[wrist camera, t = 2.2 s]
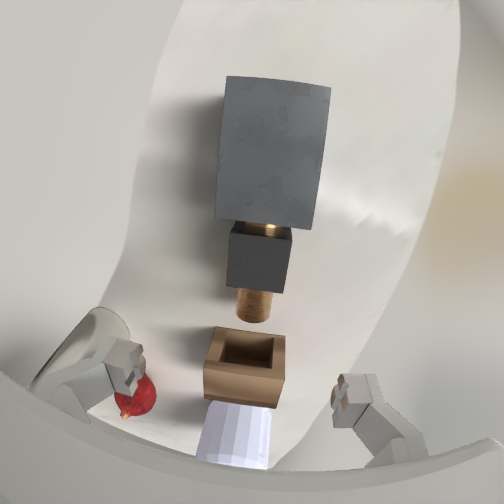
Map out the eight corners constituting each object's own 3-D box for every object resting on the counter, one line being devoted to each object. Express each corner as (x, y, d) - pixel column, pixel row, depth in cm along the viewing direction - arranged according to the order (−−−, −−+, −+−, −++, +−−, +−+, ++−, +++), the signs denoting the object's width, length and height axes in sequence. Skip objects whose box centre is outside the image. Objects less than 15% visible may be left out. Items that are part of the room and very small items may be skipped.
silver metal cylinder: (110, 350, 33) (26, 492, 10) (81, 314, 31) (-24, 452, 8) (139, 341, 31) (49, 511, 8) (108, 300, 29) (-14, 466, 6)
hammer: (251, 107, 19) (242, 98, 14) (303, 113, 19) (311, 106, 14) (233, 296, 26) (223, 333, 21) (275, 302, 26) (273, 340, 21)
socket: (216, 326, 29) (202, 368, 23) (285, 336, 28) (284, 379, 23) (215, 358, 31) (204, 398, 25) (277, 366, 30) (275, 408, 25)
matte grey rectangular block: (241, 92, 19) (226, 76, 13) (316, 101, 19) (331, 87, 13) (231, 196, 23) (214, 217, 17) (302, 205, 22) (310, 230, 17)
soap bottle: (275, 397, 33) (260, 571, 10) (266, 428, 37) (250, 567, 14) (209, 388, 33) (164, 556, 11) (209, 420, 37) (176, 555, 15)
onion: (129, 354, 32) (104, 397, 25) (167, 374, 33) (148, 420, 26) (124, 375, 35) (102, 414, 28) (158, 393, 35) (141, 434, 28)
